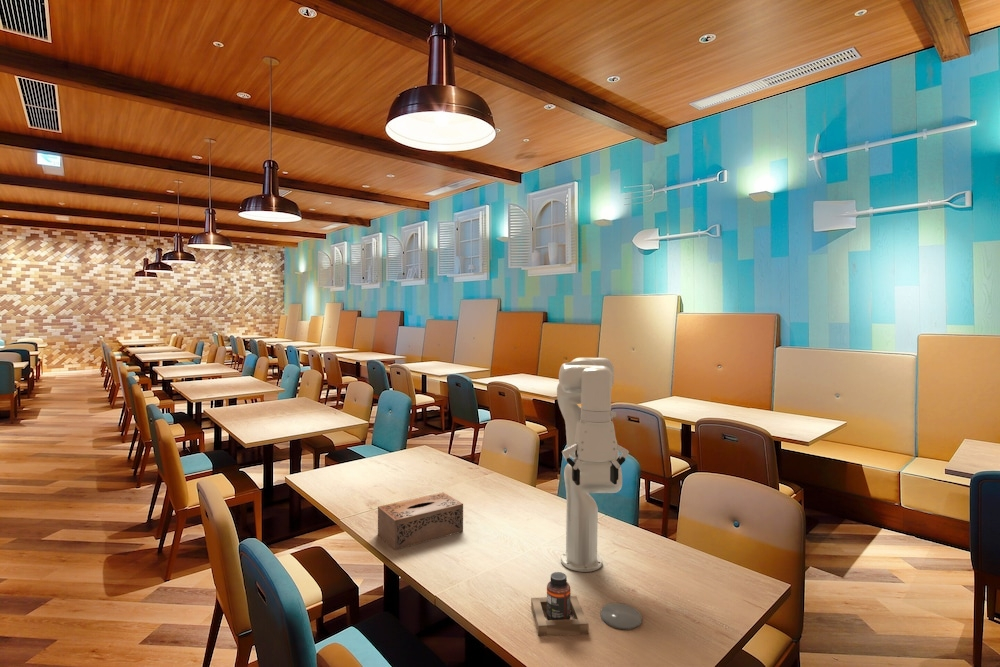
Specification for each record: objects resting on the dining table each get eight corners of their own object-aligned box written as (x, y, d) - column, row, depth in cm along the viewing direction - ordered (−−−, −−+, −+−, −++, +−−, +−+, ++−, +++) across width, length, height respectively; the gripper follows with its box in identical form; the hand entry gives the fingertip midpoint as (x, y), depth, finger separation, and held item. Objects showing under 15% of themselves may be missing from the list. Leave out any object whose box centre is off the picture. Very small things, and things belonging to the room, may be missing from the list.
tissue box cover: (394, 550, 164) (394, 520, 164) (377, 535, 176) (377, 506, 175) (463, 531, 179) (463, 503, 179) (443, 518, 191) (443, 492, 190)
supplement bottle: (568, 613, 130) (568, 569, 129) (572, 627, 124) (573, 581, 123) (545, 613, 130) (545, 569, 129) (548, 627, 124) (548, 581, 123)
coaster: (596, 606, 133) (596, 603, 132) (633, 605, 133) (633, 602, 133) (607, 630, 123) (607, 627, 123) (647, 628, 123) (647, 625, 123)
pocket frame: (531, 607, 132) (531, 597, 132) (576, 605, 133) (576, 596, 133) (538, 636, 120) (538, 625, 120) (588, 633, 121) (588, 623, 121)
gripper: (623, 413, 134) (622, 478, 134) (559, 414, 132) (558, 479, 132) (634, 418, 127) (633, 486, 127) (566, 419, 125) (565, 488, 125)
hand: (595, 483), depth 130 cm, fingers open, 9 cm apart
